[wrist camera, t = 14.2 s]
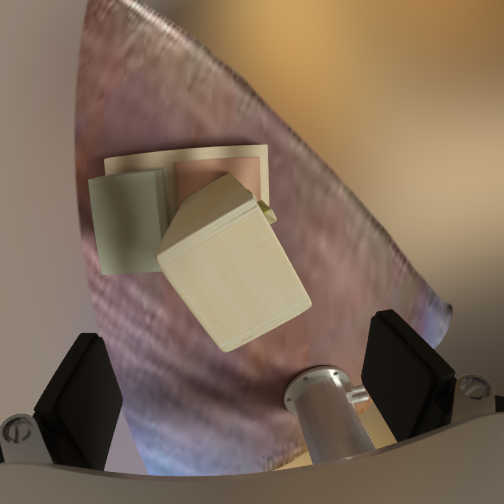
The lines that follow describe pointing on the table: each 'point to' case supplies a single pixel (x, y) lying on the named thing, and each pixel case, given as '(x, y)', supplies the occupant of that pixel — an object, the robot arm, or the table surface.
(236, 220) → the toy refrigerator
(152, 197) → the board
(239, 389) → the table surface
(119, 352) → the table surface
